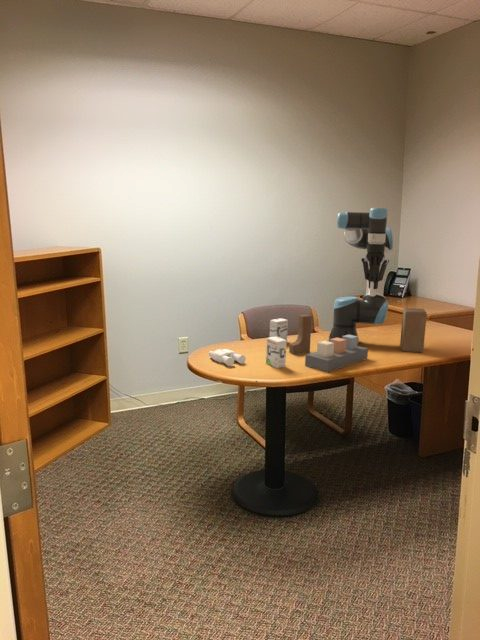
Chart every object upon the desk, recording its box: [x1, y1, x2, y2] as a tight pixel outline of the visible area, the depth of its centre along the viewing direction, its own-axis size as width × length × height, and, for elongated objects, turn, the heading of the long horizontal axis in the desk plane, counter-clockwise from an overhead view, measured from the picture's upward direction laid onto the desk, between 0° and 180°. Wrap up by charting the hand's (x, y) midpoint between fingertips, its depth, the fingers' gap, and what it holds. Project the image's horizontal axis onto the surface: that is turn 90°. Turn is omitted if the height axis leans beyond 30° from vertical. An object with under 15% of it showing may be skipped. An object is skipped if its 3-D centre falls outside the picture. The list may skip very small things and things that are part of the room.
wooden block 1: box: [288, 314, 312, 356], centre depth 240 cm, size 9×4×18 cm, turn 112°
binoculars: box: [208, 348, 247, 367], centre depth 227 cm, size 10×16×5 cm, turn 37°
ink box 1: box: [269, 317, 289, 343], centre depth 260 cm, size 9×5×12 cm, turn 131°
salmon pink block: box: [330, 338, 346, 354], centre depth 226 cm, size 5×5×7 cm
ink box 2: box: [265, 336, 287, 369], centre depth 221 cm, size 9×5×12 cm, turn 32°
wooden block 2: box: [399, 307, 428, 353], centre depth 249 cm, size 10×10×20 cm
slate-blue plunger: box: [342, 335, 359, 350], centre depth 232 cm, size 5×5×7 cm
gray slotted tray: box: [304, 345, 369, 373], centre depth 227 cm, size 12×30×5 cm, turn 133°
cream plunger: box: [316, 340, 334, 358], centre depth 220 cm, size 5×5×7 cm
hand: (372, 295), depth 231 cm, fingers closed
